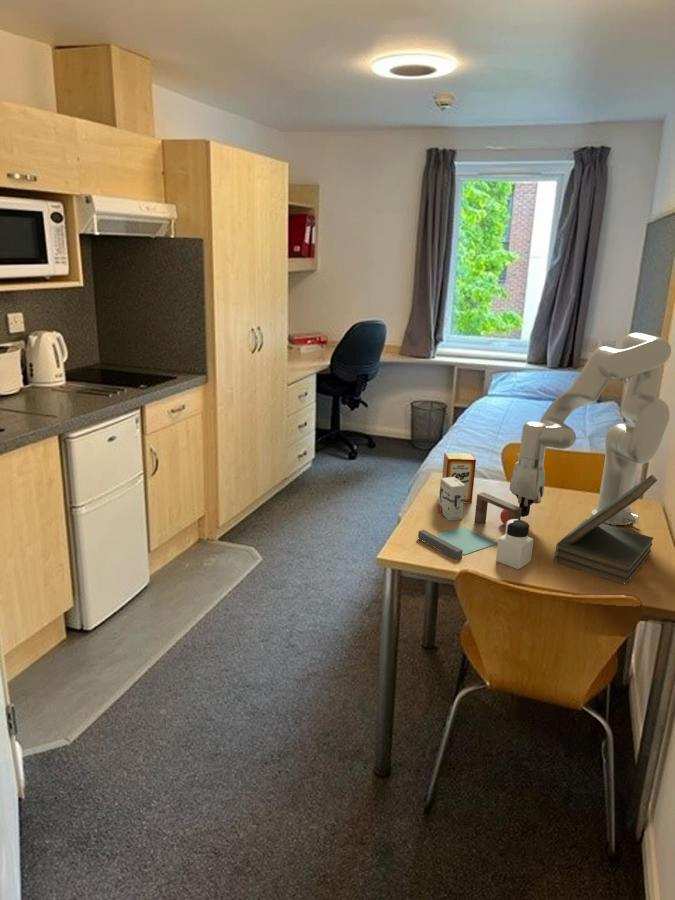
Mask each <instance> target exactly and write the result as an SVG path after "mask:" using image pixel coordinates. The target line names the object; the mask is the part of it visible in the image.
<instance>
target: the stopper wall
mask: <svg viewBox="0 0 675 900" xmlns="http://www.w3.org/2000/svg"><path fill="white" fill-rule="evenodd" d="M417 535H418V536H417V539H418V538H419V539H421V540H423V541H425V542H426V543H425V542H424V543H425V544H427V543H428V544H430V545H432V546H434V547H435V548H434V547H433V548H434V549H436V548H437V549H436V550H438V549H439V550H441V551H442V552H441V551H440V552H441V553H443V552H444V553H443V554H445V553H446V554H445V555H447V554H448V555H450V556H452V557H453V559H454V558H455V559H454V560H456V559H458V560H461V559H462V558H463V554H462V552H463V550H461V549H459V548H457V547H456V546H454V545H452V544H450V543H448V542H446V541H444V540H442V539H440V538H438V537H437V536H435V535H436V534H433V533H431V532H429V531H427V530H425V529H421V530H419V531H418V534H417ZM419 539H418V540H419ZM421 540H420V541H421ZM423 541H422V542H423ZM428 544H427V545H428ZM430 545H429V546H430ZM432 546H431V547H432ZM439 550H438V551H439ZM448 555H447V556H448ZM450 556H449V557H450ZM452 557H451V558H452Z"/></svg>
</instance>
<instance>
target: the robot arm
mask: <svg viewBox="0 0 675 900" xmlns="http://www.w3.org/2000/svg"><path fill="white" fill-rule="evenodd" d="M621 347H622V349H619V348H616V347H613V346H604V345H603V346H600V347H598V348H596V349H595V350H594V351H593V352H592V353H591V355H590V357H589V358H588V360H587V361H586V363H585V365H584V366H583V368H582V369H581V371H580V373H579V374H578V376H577V378H576V379H575V381H574V382H573V383H572V385H571V387H569V389H567V390H565V392H562V393H561V395H559V396H558V397H557V398H555V400H553V401H552V403H551V404H549V406H548V407H547V409H546V410H545V412H544V414H543V416H542V417H541V419H540V420H539V421H536V420H535V421H532V420H531V421H526V422H525V423H524V424H523V425H522V431H521V439H520V446H519V447H520V448H519V453H517V454H516V457H517V458H518V461H516V462H515V464H514V467H513V469H512V473H511V477H510V483H509V491H510V492H511V494H512V495H514V496H516V498H517V502H518V504H519V506H518V507H520V508H522V511H521V517H522V518H525V517H527V516H529V515H530V510H531V506H532V505H533V504H538V505H539V504H540V503H541V502H542V497H544V491H545V479H546V478H545V476H546V475H545V468H544V462H545V454H546V448H552V449H559V450H564V449H568V448H571V447H572V446H573V445H574V444H575V442H576V440H577V438H576V437H577V435H576V432H575V430H574V429H573V428H572V427H571V426H569V425H568V424H565V421H566V420H567V418H568V417H569V416H570V415H571V414H572V413H573V412H574V411H575V410H577V409H579V408H581V407H584V406H587V405H591V404H594V403H596V402H597V401H598V400H599V398H600V396H601V395H602V393H603V391H604V390H605V389H606V387H607V385H608V384H609V383H610V380H611V379H613V380H624V379H629V378H630V379H629V382H628V384H627V385H628V386H627V387H626V391H625V394H624V397H623V400H622V403H621V407H620V413H621V415H622V417H623V418H625V419H626V420H628V421H630V422H631V423H633V424H635V426H633V425H632V424H628V423H617V424H615V425H613V426H611V427H610V428H609V429H608V431H607V432H606V435H605V441H604V449H605V451H604V452H605V454H604V455H605V457H604V458H605V459H604V465H603V471H602V477H601V484H600V487H599V488H600V489H599V495H598V496H599V497H598V502H597V507H596V508H594V509H592V510H591V512H590V513H591V514H590V515H591V516H590V517H592V516H593V515H595V514H596V513H598V512H599V511H600V510H602V509H603V508H605V507H606V506H608V505H609V504H610V503H612V502H613V501H615V500H616V499H618V498H619V497H621V496H622V495H623V494H625V493H626V492H628V491H629V490H631V489H632V488H634V487H635V486H634V485H635V480H636V474H637V467H638V466H637V465H638V464H639V465H641V464H642V465H643V464H646V463H648V462H650V461H651V460H653V458H654V457H655V456H656V454H657V452H658V450H659V447H660V445H661V442H662V440H663V436H664V434H665V431H666V429H667V427H668V424H669V421H670V408H669V406H668V404H667V403H666V402H665V401H664V400H663V399H661V398H658V396H657V395H658V393H659V388H660V385H661V382H662V378H663V371H662V370H663V369H662V365H664V364H665V363H667V361H669V359H670V357H671V354H672V347H671V344H670V343H669V341H668V340H666V339H665V338H663V337H659V336H656V335H652V334H647V333H644V332H632V333H629V334H627V335H626V336H625V337H624V339H623V341H622V346H621ZM639 521H640V516H639V515H637V514H634V513H633V508H632V507H631V504H630V505H629V506H627V507H626V508H624V509H623V510H621V511H620V512H618V513H617V514H615V515H614V516H612V517H611V518H609V519H608V520H606V521H605V522H604V523H603V524H605V523H606V525H609V524H611V525H610V526H616V525H625V526H628V525H627V524H629V525H631V524H632V523H633V524H638V523H639ZM631 522H632V523H631ZM630 523H631V524H630Z"/></svg>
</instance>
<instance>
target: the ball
mask: <svg viewBox="0 0 675 900" xmlns="http://www.w3.org/2000/svg"><path fill="white" fill-rule="evenodd" d="M499 518H500V521H501V522H502V524H503V525H505V526H506V523H507V521H508V519H509V511H507V510H504V509H502V510H501V512H500V517H499Z"/></svg>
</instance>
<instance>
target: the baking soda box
mask: <svg viewBox="0 0 675 900" xmlns="http://www.w3.org/2000/svg"><path fill="white" fill-rule="evenodd" d="M443 454H444V455H443V463H442V464H443V465H442V477H441V478H447V477H455V478H456V479H458V480H459V481H460V482H462V483H463V484H465V493H464V502H470V503H469V504H472V503H473V496H474V495H473V494H474V483H475V472H476V465H477V459H476V457H475V456H474V455H473V454H472V453H465V452H463V453H460V452H444V453H443Z"/></svg>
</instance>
